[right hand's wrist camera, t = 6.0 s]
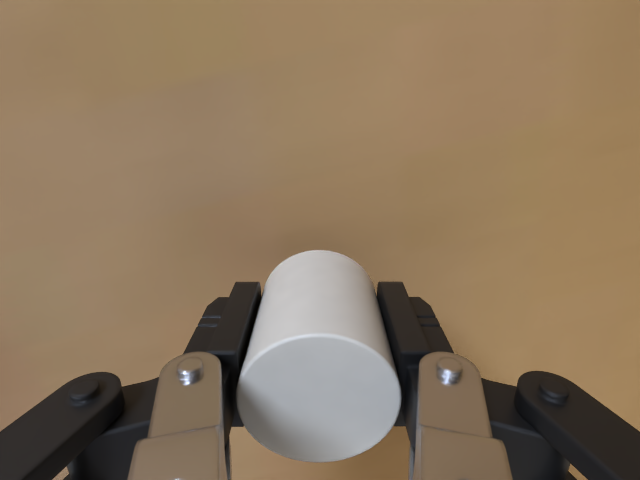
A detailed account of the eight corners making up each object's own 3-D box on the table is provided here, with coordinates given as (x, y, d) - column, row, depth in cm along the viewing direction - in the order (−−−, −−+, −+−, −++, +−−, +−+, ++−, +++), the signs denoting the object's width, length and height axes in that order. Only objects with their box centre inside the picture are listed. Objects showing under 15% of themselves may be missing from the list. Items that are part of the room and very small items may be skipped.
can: (278, 355, 14) (260, 474, 10) (249, 261, 12) (213, 352, 8) (383, 336, 13) (412, 451, 9) (365, 238, 12) (389, 319, 8)
